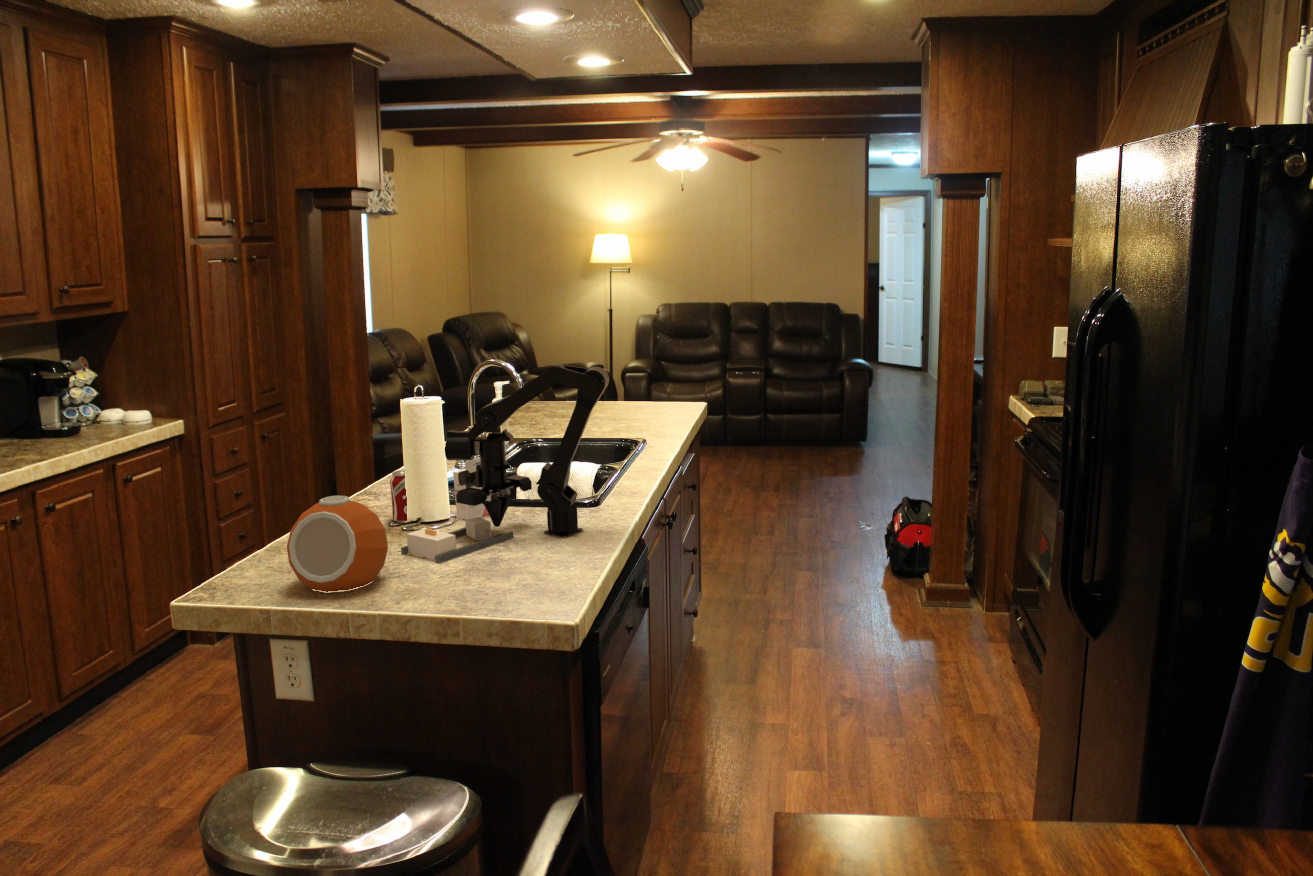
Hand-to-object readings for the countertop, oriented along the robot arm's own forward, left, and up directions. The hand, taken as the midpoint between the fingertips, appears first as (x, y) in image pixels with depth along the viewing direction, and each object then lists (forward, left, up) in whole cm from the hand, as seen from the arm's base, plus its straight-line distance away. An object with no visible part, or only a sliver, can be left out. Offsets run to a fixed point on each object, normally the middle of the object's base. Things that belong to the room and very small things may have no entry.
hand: (496, 526), depth 236 cm
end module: (0, +19, -1) cm, 19 cm away
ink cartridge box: (+16, -8, -2) cm, 18 cm away
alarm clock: (+1, +42, -2) cm, 42 cm away
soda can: (+27, +4, -2) cm, 27 cm away
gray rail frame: (0, +12, -2) cm, 12 cm away
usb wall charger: (0, +5, -2) cm, 5 cm away
